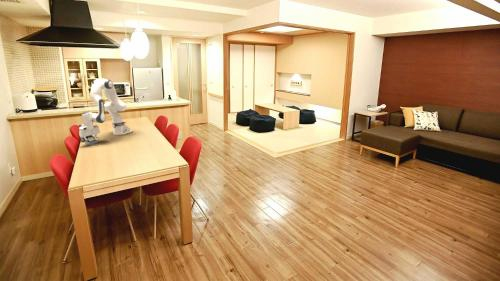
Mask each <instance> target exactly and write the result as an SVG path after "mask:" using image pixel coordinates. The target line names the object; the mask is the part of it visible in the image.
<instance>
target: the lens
mask: <svg viewBox="0 0 500 281" xmlns="http://www.w3.org/2000/svg"><path fill="white" fill-rule="evenodd" d="M88 140H89V142H91V141H94V135H91V136H88Z"/></svg>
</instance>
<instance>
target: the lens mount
mask: <svg viewBox="0 0 500 281" xmlns="http://www.w3.org/2000/svg"><path fill="white" fill-rule="evenodd" d="M98 140H99V139H96V138H95V139H94V141H91V142H89V140H86V141H84V145H85V144H87V145H86V146H89V145H90V147H91V146H95V145H98V144H99V141H98ZM94 144H95V145H94Z"/></svg>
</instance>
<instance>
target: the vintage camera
mask: <svg viewBox="0 0 500 281" xmlns="http://www.w3.org/2000/svg"><path fill="white" fill-rule="evenodd" d="M82 126H83V123H82V124H81V123H80V124H79V125H78V129H79V128H80V127H82ZM90 136H91V135H90ZM79 137H80V136H79ZM86 138H87V139H88V136H86ZM98 138H99V136H98V137H97V136H96V138H94V139H95V140H96V139H98ZM80 141H81V142H82V141H83V142H85V141H87V140H85V138H84V137H80Z"/></svg>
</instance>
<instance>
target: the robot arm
mask: <svg viewBox="0 0 500 281" xmlns="http://www.w3.org/2000/svg"><path fill="white" fill-rule="evenodd" d="M103 90H104V92H105V94H106V95H105V96H106V98H107V100H108V101H110V102H108V101H107V102H104V99H103ZM89 93H90V94H89V97H90V98H89V99H90V100H91V101H92V102H94V103H95V104H96V105H97V108H98V109H97V110H98V111H97V113H96V112H95V113H94V112H91V111H90V110H89V111H87V110H86V111H83V112H82V113H81V119H82V122H83V123H82V124H83V126H82V127H80V128H79V127H78V130H79V132H78V135H79V137H84V138H85V140H86V141H87V140H88V139H87V138H86V136H90V135H92V136H93V137H94V138H95V139H97V138H96V137H97V136H98V134H100V133H101V131H100V128H99V125H98V124H95V125H94V123H99V124H103V123H104V122H106V119H107V118H106V113H105V112H108V113H109V115H110V116H111V120H112V127H113V131H112V135H114V136H115V135H116V136H118V135H119V136H120V135H127V134H130V133H132V132H133V130H131V129H130V126H129V125H126V123H127V122H126V121H124V120H123V116H122V115H121V114H120V113H119V112H124V111H126V109H127V104H126V103H125V102H123V101H122V100H121V98H119V96H118V94H117V91H116V88H115V85H114V82H113V81H112V80H111V79H109V78H108V79H107V78H94V79H93V80H92V83H91V88H90V91H89Z"/></svg>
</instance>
